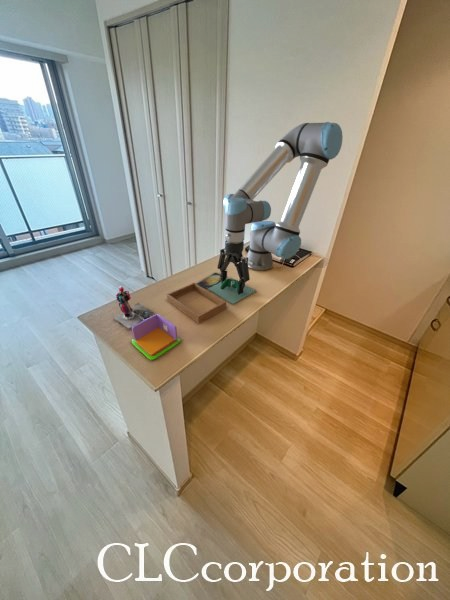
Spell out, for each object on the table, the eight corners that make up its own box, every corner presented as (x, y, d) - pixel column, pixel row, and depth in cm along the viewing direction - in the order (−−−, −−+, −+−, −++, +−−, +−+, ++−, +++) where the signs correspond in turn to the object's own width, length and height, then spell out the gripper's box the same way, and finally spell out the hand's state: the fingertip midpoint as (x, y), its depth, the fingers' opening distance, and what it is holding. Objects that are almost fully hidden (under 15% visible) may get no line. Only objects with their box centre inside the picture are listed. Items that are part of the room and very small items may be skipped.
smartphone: (195, 284, 110) (215, 272, 120) (195, 285, 110) (215, 273, 120) (207, 289, 107) (226, 276, 117) (207, 290, 107) (226, 278, 117)
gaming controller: (240, 294, 106) (243, 281, 107) (239, 292, 103) (242, 279, 104) (221, 290, 109) (224, 278, 110) (219, 288, 105) (222, 275, 106)
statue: (130, 332, 84) (116, 300, 74) (115, 321, 89) (100, 289, 79) (154, 314, 91) (144, 283, 81) (139, 305, 95) (128, 274, 85)
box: (194, 288, 108) (194, 282, 106) (226, 307, 96) (226, 301, 94) (167, 300, 99) (166, 294, 97) (198, 323, 87) (198, 317, 86)
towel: (230, 278, 116) (230, 277, 116) (256, 291, 107) (256, 290, 107) (207, 289, 107) (207, 288, 107) (233, 304, 98) (233, 303, 98)
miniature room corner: (160, 325, 86) (158, 310, 82) (182, 341, 80) (180, 325, 76) (130, 342, 78) (126, 326, 74) (151, 361, 72) (148, 345, 68)
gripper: (208, 235, 98) (209, 282, 111) (249, 251, 85) (245, 302, 98) (221, 231, 102) (220, 276, 115) (262, 246, 90) (256, 295, 102)
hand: (232, 288), depth 107 cm, fingers closed on gaming controller, 9 cm apart
